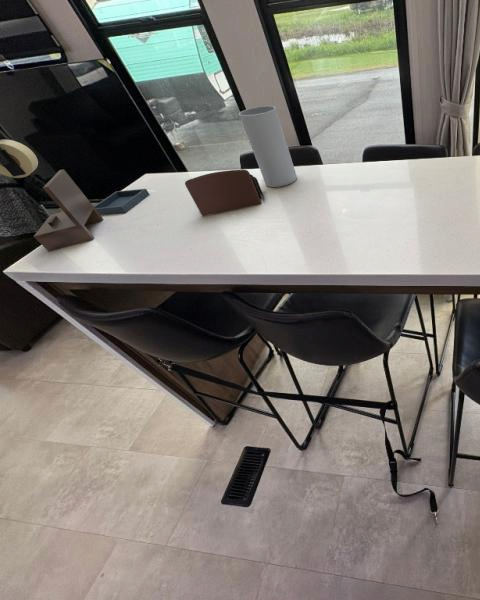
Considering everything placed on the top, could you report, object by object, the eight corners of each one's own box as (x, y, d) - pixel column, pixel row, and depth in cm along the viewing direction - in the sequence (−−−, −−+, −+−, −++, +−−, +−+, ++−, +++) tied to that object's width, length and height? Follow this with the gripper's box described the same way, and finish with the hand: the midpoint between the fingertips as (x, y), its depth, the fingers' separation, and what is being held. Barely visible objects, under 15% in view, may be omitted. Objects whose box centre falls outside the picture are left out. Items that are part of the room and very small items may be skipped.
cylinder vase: (269, 177, 132) (243, 108, 115) (299, 173, 132) (278, 104, 116) (263, 189, 123) (234, 117, 106) (295, 185, 123) (272, 112, 106)
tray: (126, 212, 118) (121, 206, 117) (93, 215, 119) (88, 209, 117) (149, 194, 130) (145, 188, 128) (120, 197, 130) (116, 191, 129)
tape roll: (3, 181, 89) (-29, 147, 83) (9, 176, 92) (-21, 143, 86) (41, 173, 92) (13, 140, 86) (47, 168, 95) (20, 136, 89)
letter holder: (263, 208, 111) (246, 167, 101) (203, 220, 108) (180, 179, 98) (264, 196, 118) (248, 157, 108) (208, 207, 115) (187, 168, 106)
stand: (52, 255, 99) (-6, 198, 86) (67, 233, 110) (17, 178, 97) (97, 244, 102) (47, 186, 89) (106, 223, 113) (63, 169, 100)
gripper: (-65, 75, 71) (27, 178, 86) (-26, 68, 83) (48, 160, 99) (-109, 80, 69) (-7, 185, 84) (-63, 72, 81) (19, 166, 97)
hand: (23, 171), depth 92 cm, fingers closed on tape roll, 5 cm apart
